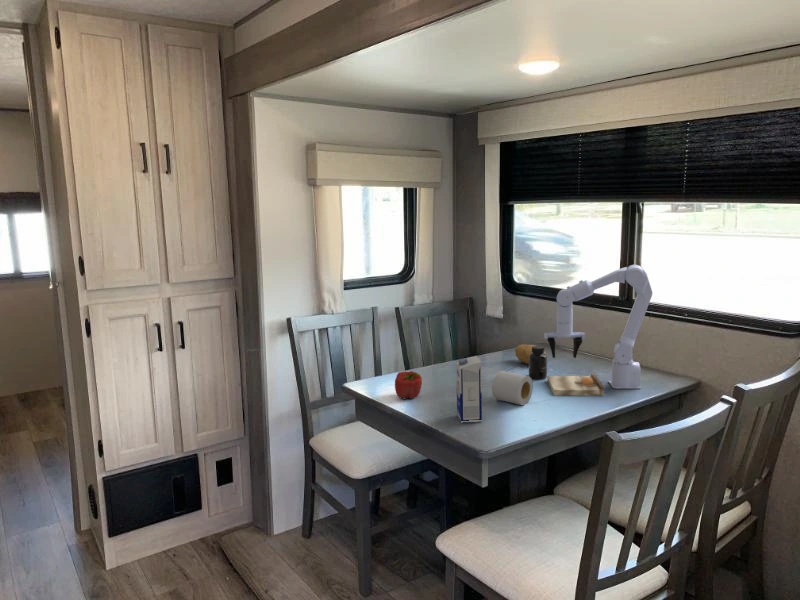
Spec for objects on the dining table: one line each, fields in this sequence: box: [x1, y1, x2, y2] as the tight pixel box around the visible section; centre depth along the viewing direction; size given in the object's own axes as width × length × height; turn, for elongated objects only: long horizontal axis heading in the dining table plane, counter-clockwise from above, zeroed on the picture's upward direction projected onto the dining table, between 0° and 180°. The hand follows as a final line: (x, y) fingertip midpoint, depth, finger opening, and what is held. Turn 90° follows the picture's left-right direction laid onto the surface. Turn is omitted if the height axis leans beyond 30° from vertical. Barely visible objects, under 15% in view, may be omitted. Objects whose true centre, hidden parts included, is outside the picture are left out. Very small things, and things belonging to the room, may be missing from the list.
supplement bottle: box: [528, 345, 548, 380], centre depth 227 cm, size 7×7×12 cm
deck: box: [547, 372, 605, 397], centre depth 214 cm, size 18×16×3 cm
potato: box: [514, 343, 547, 365], centre depth 245 cm, size 10×14×8 cm
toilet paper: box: [491, 370, 534, 406], centre depth 202 cm, size 10×10×10 cm
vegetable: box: [394, 371, 423, 399], centre depth 210 cm, size 11×10×10 cm
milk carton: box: [455, 355, 483, 421], centre depth 187 cm, size 7×7×20 cm
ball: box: [582, 377, 593, 385], centre depth 214 cm, size 4×4×4 cm
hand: (564, 357), depth 221 cm, fingers open, 7 cm apart
